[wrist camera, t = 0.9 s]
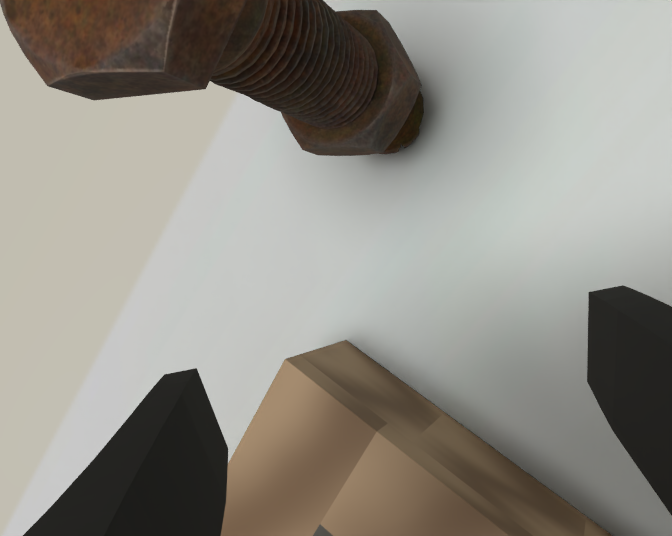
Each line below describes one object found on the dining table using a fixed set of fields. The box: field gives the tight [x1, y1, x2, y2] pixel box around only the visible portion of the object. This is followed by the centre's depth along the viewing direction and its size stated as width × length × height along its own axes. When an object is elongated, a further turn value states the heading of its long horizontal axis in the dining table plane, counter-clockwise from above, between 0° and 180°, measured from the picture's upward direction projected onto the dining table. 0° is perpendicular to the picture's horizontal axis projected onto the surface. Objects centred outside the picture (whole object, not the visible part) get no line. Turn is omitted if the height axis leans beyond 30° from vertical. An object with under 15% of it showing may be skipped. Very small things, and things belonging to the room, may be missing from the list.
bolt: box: [0, 0, 424, 156], centre depth 17 cm, size 6×5×15 cm
